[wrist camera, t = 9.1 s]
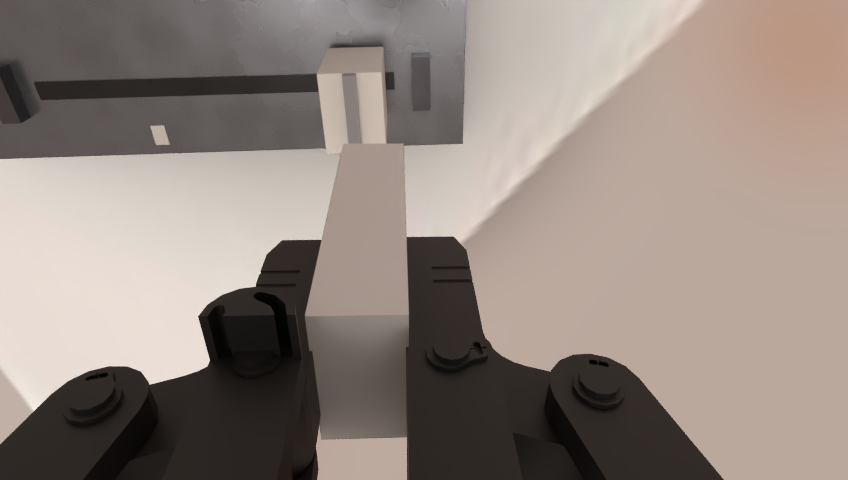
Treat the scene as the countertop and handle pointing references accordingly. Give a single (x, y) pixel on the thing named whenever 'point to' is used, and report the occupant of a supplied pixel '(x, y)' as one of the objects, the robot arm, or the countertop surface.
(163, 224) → the countertop surface
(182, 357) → the countertop surface
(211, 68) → the console
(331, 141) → the fader
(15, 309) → the countertop surface
